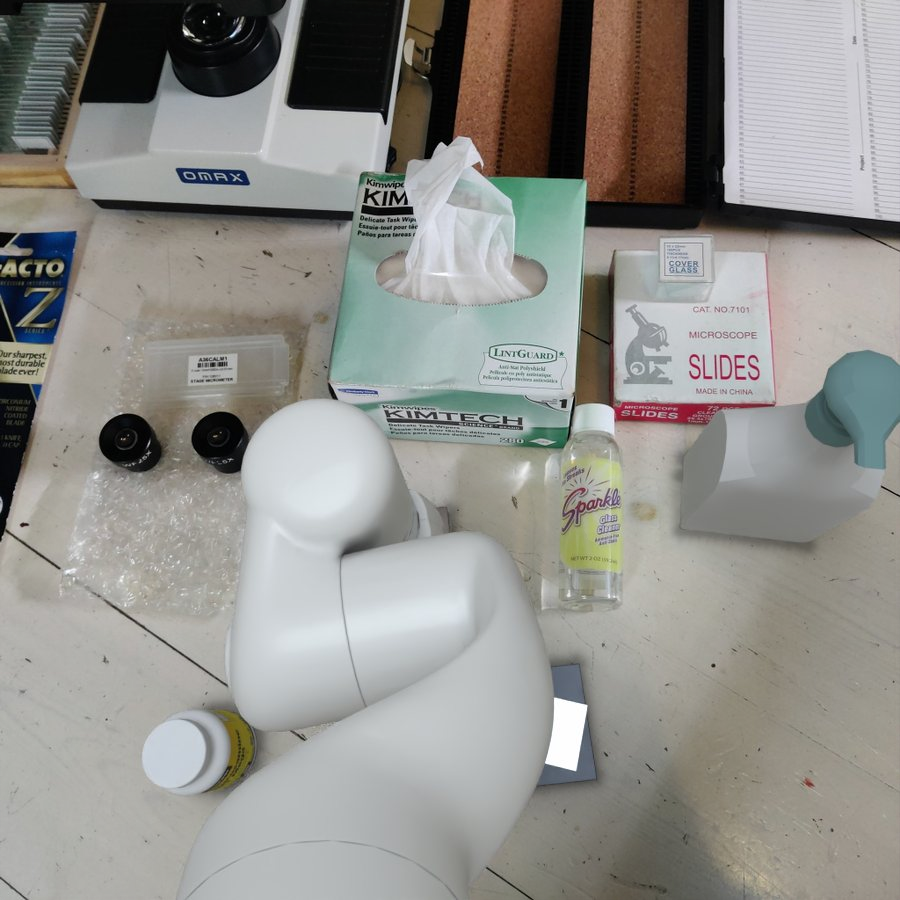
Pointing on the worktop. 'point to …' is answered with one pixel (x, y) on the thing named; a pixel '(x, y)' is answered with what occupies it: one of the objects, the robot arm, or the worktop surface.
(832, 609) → the worktop surface
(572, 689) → the tap column
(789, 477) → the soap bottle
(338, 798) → the robot arm
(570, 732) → the spout
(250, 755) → the pill bottle
